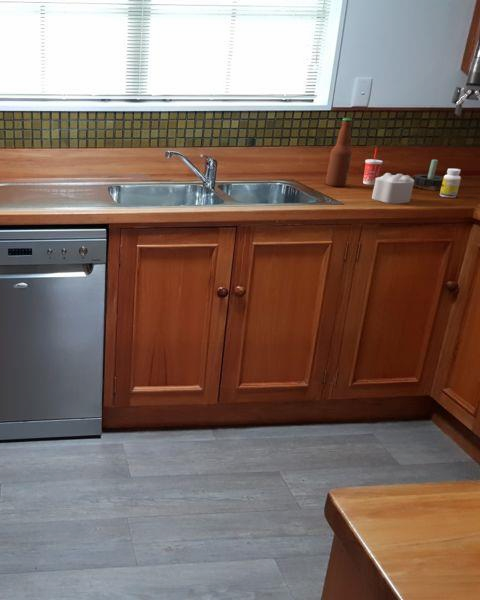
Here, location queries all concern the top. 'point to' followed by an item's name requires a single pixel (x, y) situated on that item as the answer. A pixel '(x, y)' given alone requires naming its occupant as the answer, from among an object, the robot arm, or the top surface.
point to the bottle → (340, 157)
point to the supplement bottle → (450, 183)
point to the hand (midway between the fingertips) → (469, 116)
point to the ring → (428, 180)
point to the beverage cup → (371, 170)
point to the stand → (430, 177)
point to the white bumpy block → (393, 188)
